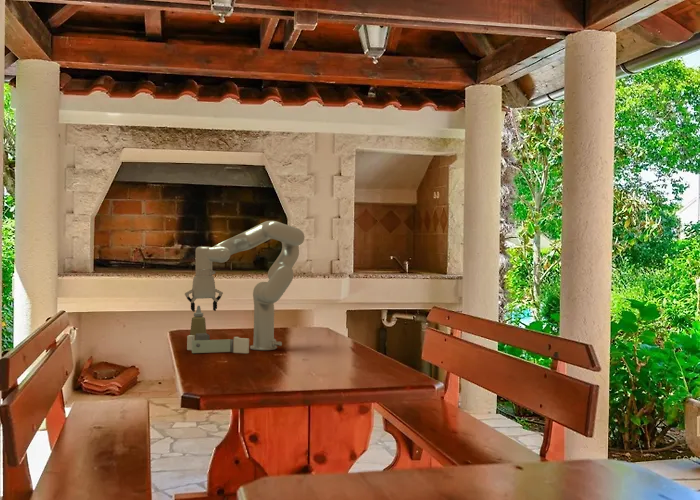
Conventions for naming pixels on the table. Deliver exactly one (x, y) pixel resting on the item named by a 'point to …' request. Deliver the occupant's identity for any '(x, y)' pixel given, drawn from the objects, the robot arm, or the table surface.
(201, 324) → the squeeze bottle
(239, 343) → the pale rectangular blocks
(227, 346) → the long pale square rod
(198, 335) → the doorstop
